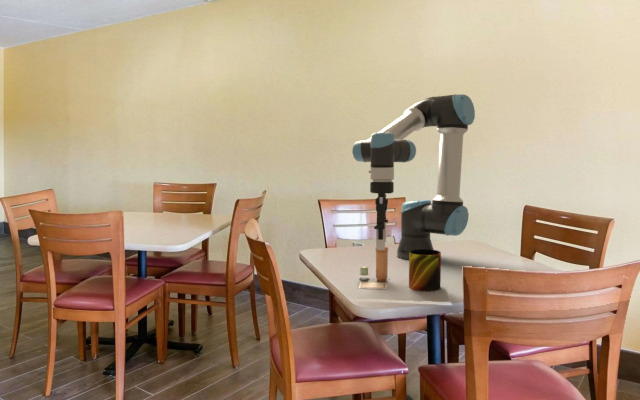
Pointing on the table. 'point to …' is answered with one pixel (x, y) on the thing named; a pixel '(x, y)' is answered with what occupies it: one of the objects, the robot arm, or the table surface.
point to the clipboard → (372, 284)
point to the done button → (363, 270)
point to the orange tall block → (382, 265)
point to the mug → (424, 270)
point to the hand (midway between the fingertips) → (381, 245)
